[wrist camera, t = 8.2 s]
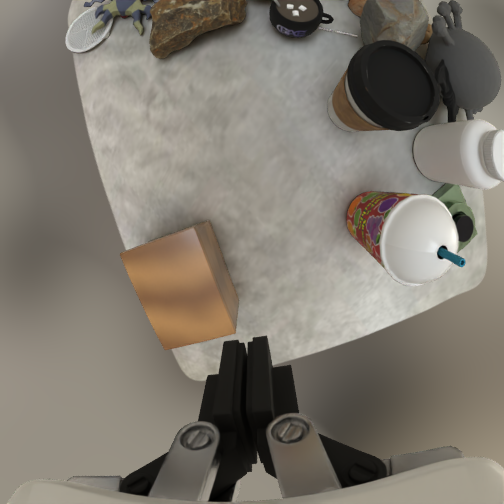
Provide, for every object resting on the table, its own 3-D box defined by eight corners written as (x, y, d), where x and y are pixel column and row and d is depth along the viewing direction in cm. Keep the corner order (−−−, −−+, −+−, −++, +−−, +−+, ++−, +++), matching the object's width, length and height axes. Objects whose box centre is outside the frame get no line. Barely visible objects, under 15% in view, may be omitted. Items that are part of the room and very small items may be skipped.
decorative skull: (412, -10, 22) (372, 35, 23) (492, -3, 14) (476, 46, 15) (447, 85, 36) (417, 142, 37) (509, 104, 27) (489, 170, 28)
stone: (415, 46, 28) (412, 89, 30) (360, 31, 30) (353, 72, 31) (434, -7, 16) (437, 39, 18) (362, -26, 18) (357, 16, 20)
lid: (122, 252, 30) (119, 254, 29) (195, 225, 29) (194, 226, 28) (166, 346, 33) (164, 350, 32) (236, 329, 32) (235, 333, 31)
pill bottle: (422, 189, 35) (495, 204, 21) (403, 133, 33) (474, 122, 19) (459, 172, 34) (532, 181, 20) (443, 120, 32) (515, 109, 18)
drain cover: (70, 15, 27) (73, 17, 28) (61, 58, 29) (65, 60, 30) (116, 0, 27) (119, 3, 28) (108, 44, 29) (111, 46, 30)
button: (444, 222, 33) (452, 225, 31) (461, 208, 32) (468, 210, 30) (453, 244, 33) (460, 247, 32) (469, 229, 33) (476, 232, 31)
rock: (178, 61, 25) (118, 35, 25) (195, 81, 31) (140, 53, 31) (256, -21, 22) (191, -39, 22) (261, 6, 28) (202, -15, 28)
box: (148, 241, 37) (125, 258, 30) (209, 219, 36) (198, 232, 29) (180, 317, 40) (166, 346, 33) (239, 300, 39) (236, 329, 32)
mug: (265, 40, 30) (267, 13, 23) (268, 4, 28) (271, -25, 21) (356, 55, 30) (377, 34, 23) (356, 19, 28) (374, -5, 21)
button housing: (412, 211, 36) (427, 215, 32) (448, 180, 35) (465, 183, 31) (436, 261, 38) (450, 269, 34) (469, 230, 36) (484, 236, 33)
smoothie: (354, 173, 35) (449, 181, 15) (404, 202, 36) (510, 236, 16) (326, 231, 37) (395, 295, 18) (377, 257, 38) (464, 328, 18)
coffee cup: (339, 152, 34) (392, 144, 20) (304, 95, 32) (336, 50, 18) (390, 125, 33) (458, 109, 18) (357, 70, 31) (410, 25, 17)
